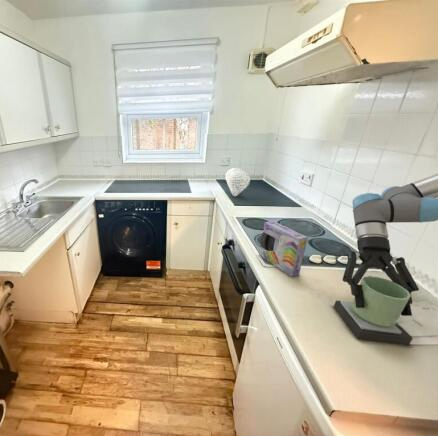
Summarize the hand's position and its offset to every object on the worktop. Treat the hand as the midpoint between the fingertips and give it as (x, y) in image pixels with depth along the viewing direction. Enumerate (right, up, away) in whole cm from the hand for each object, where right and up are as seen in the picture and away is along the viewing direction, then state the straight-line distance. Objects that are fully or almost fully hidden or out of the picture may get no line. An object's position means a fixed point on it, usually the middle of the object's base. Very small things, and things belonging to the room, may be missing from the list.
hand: (382, 311), depth 69 cm
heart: (+5, +46, +130) cm, 138 cm away
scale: (+1, -6, +6) cm, 9 cm away
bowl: (+1, -3, +4) cm, 5 cm away
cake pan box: (-11, +6, +37) cm, 39 cm away
